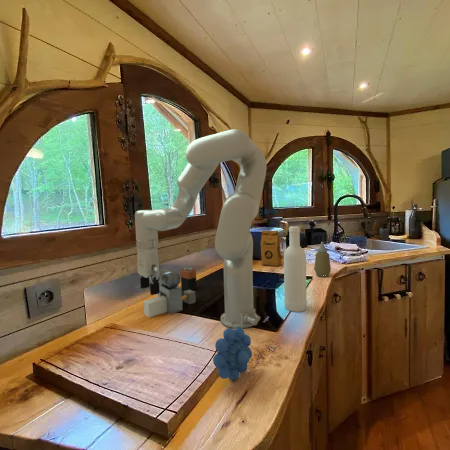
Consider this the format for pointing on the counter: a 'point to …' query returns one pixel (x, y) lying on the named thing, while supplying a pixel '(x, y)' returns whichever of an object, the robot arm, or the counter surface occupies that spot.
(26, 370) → the counter surface
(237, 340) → the grapes
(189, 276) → the battery
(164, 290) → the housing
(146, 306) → the white mallet
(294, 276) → the bottle
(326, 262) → the squeeze bottle
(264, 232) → the coffee package
